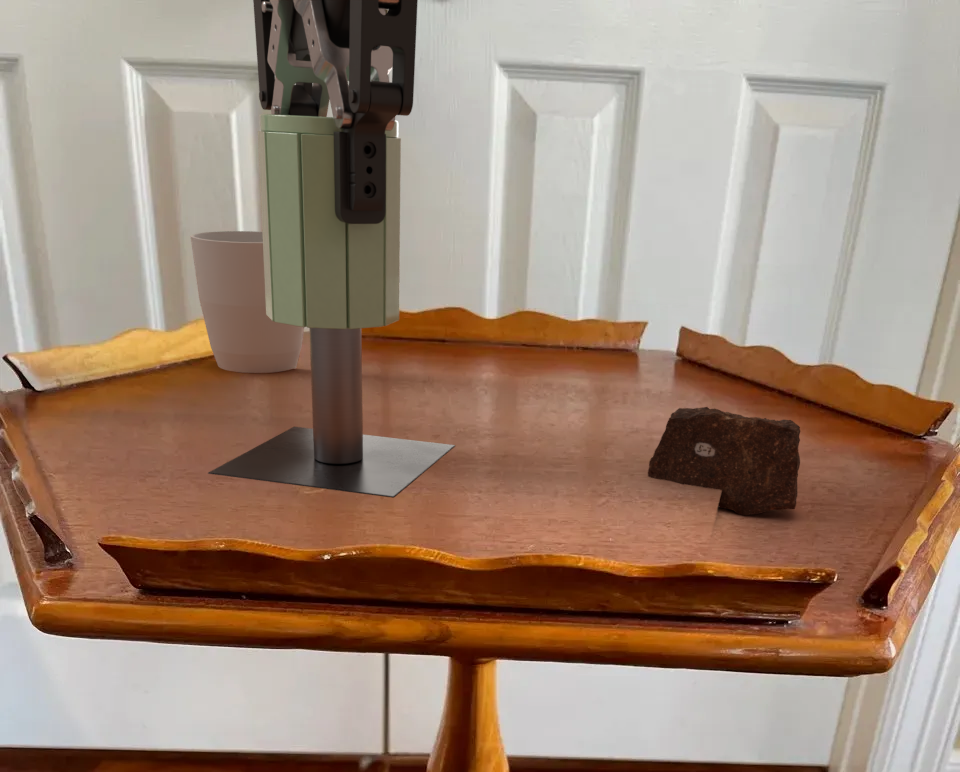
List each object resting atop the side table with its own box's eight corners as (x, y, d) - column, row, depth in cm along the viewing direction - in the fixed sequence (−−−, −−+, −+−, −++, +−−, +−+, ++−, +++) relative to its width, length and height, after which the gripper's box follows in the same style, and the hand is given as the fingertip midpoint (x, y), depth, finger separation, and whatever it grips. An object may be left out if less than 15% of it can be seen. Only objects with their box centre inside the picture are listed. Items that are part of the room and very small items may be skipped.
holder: (208, 495, 52) (195, 329, 48) (294, 446, 61) (288, 302, 57) (393, 520, 50) (393, 347, 46) (455, 465, 58) (459, 316, 55)
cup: (299, 367, 81) (293, 231, 76) (326, 389, 74) (321, 242, 70) (194, 371, 78) (182, 230, 73) (212, 395, 71) (200, 242, 67)
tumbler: (244, 321, 49) (232, 112, 45) (302, 303, 55) (297, 116, 51) (367, 334, 48) (366, 118, 44) (414, 314, 54) (418, 122, 50)
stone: (642, 499, 54) (652, 404, 52) (657, 484, 57) (668, 393, 54) (790, 524, 51) (808, 425, 49) (799, 507, 54) (817, 412, 52)
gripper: (186, -199, 46) (212, 203, 53) (296, -294, 35) (310, 231, 42) (342, -169, 49) (347, 205, 57) (488, -248, 38) (470, 231, 46)
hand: (331, 214), depth 49 cm, fingers closed on tumbler, 6 cm apart
